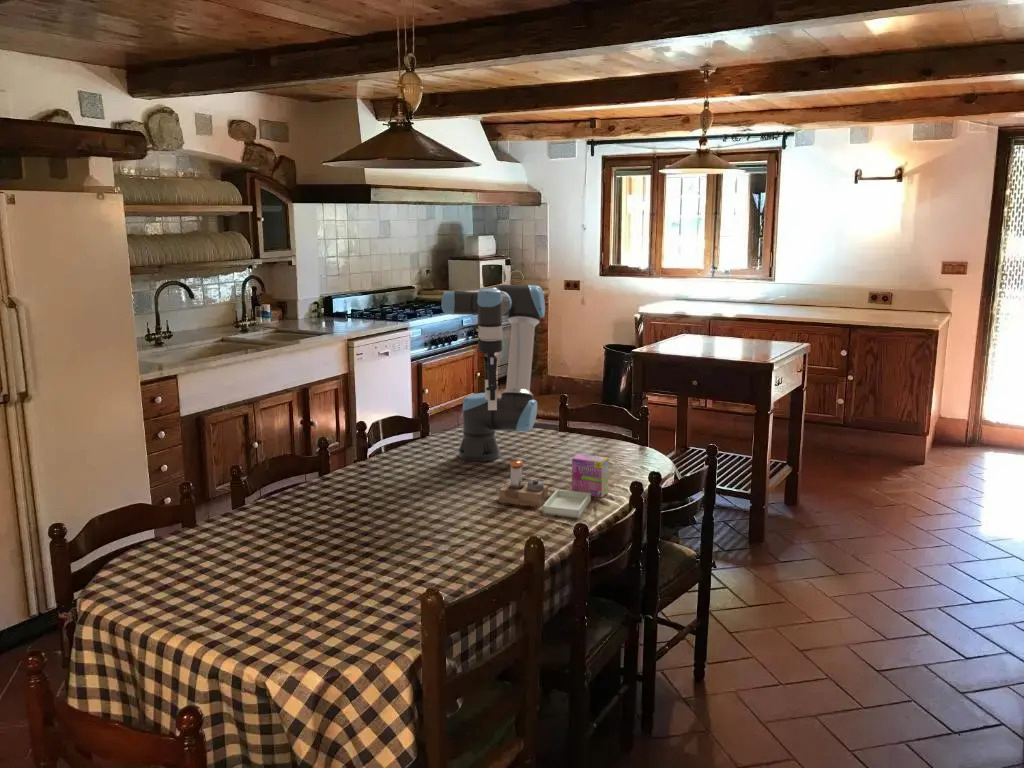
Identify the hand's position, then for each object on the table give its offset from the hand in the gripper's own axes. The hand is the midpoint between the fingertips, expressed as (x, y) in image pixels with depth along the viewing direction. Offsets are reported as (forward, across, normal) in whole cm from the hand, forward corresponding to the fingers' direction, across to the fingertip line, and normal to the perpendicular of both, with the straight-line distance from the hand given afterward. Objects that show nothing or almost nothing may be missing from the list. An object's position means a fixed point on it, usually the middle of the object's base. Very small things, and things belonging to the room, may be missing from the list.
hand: (490, 404), depth 262 cm
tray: (+27, +22, +21) cm, 41 cm away
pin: (+27, +13, +7) cm, 31 cm away
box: (+28, +10, +31) cm, 43 cm away
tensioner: (+27, +14, +9) cm, 32 cm away
